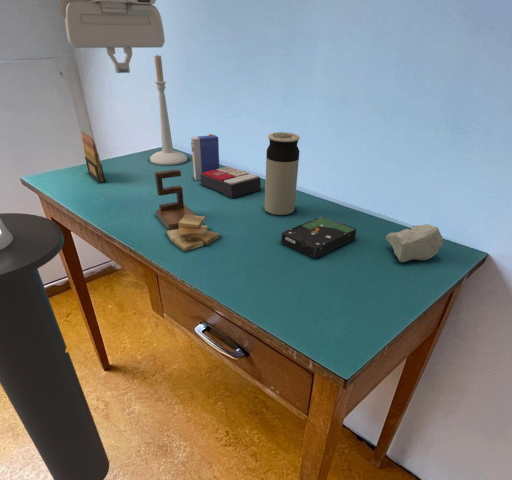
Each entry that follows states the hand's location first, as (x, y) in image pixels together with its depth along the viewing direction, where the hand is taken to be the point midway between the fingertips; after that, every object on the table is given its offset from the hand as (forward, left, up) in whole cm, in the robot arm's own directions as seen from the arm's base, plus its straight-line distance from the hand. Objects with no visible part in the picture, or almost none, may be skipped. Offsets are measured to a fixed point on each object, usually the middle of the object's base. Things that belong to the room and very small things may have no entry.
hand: (122, 72), depth 90 cm
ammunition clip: (-8, +24, -29) cm, 39 cm away
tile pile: (+4, -28, -29) cm, 41 cm away
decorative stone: (+45, -54, -29) cm, 76 cm away
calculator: (+26, 0, -29) cm, 39 cm away
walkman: (+23, +11, -29) cm, 39 cm away
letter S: (+4, -17, -29) cm, 34 cm away
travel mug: (+31, -21, -29) cm, 48 cm away
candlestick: (+18, +34, -29) cm, 48 cm away
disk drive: (+30, -41, -29) cm, 59 cm away
